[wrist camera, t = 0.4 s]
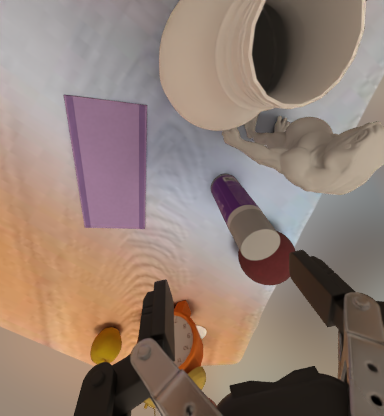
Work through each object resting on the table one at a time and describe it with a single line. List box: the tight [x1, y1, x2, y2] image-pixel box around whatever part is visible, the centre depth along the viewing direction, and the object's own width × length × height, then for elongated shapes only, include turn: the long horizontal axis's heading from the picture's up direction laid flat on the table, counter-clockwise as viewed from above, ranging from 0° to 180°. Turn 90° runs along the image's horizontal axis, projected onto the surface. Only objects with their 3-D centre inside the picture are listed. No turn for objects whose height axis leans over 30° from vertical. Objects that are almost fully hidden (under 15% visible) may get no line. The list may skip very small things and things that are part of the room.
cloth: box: [64, 95, 147, 229], centre depth 31 cm, size 20×10×1 cm, turn 173°
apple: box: [91, 327, 122, 364], centre depth 48 cm, size 6×6×8 cm
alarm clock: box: [137, 300, 206, 414], centre depth 42 cm, size 13×6×20 cm, turn 104°
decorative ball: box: [238, 231, 295, 285], centre depth 38 cm, size 10×10×10 cm
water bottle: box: [159, 0, 366, 131], centre depth 16 cm, size 7×7×25 cm
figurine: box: [222, 114, 384, 195], centre depth 23 cm, size 18×7×18 cm, turn 80°
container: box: [211, 174, 280, 261], centre depth 29 cm, size 5×5×15 cm
